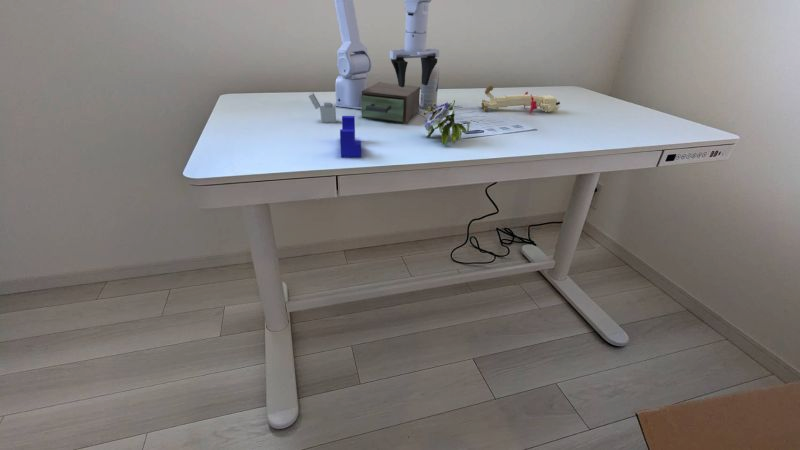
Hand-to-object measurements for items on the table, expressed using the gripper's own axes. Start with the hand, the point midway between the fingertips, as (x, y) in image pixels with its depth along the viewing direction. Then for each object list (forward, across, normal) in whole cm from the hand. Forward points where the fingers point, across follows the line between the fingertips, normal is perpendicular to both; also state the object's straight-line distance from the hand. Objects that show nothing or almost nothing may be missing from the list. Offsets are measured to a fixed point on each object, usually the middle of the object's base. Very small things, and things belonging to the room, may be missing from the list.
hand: (413, 85), depth 111 cm
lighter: (+10, -24, +8) cm, 27 cm away
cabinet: (+10, -3, +7) cm, 12 cm away
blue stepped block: (+10, -25, -15) cm, 31 cm away
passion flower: (+10, -1, -18) cm, 21 cm away
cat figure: (+10, +39, -5) cm, 40 cm away
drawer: (+9, -6, +4) cm, 12 cm away
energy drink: (+10, +12, +10) cm, 19 cm away
